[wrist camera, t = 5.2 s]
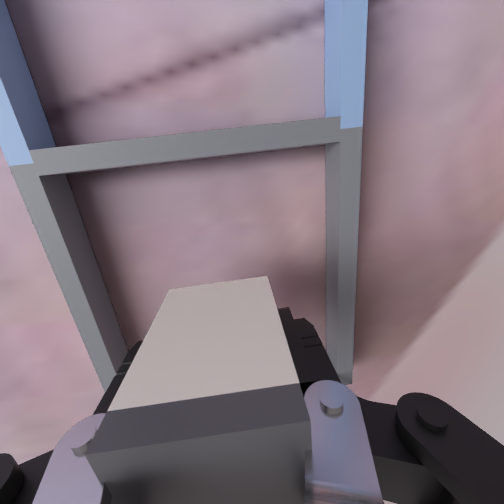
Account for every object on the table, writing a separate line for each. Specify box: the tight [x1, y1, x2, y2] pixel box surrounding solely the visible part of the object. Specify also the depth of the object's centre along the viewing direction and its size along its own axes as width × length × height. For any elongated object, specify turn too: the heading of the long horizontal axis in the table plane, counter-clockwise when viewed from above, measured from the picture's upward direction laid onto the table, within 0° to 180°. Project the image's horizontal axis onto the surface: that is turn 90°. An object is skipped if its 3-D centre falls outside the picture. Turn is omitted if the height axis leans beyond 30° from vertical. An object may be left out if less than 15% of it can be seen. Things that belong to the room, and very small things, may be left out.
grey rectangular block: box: [85, 276, 312, 504], centre depth 8 cm, size 4×4×6 cm
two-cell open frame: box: [0, 0, 368, 392], centre depth 11 cm, size 15×30×2 cm, turn 6°
